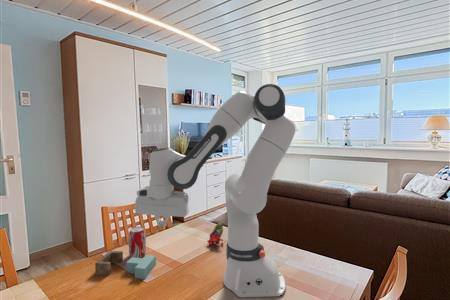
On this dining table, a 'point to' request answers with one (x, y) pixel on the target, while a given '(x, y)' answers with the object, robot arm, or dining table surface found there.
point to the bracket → (108, 262)
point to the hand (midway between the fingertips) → (162, 226)
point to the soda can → (137, 242)
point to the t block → (141, 266)
